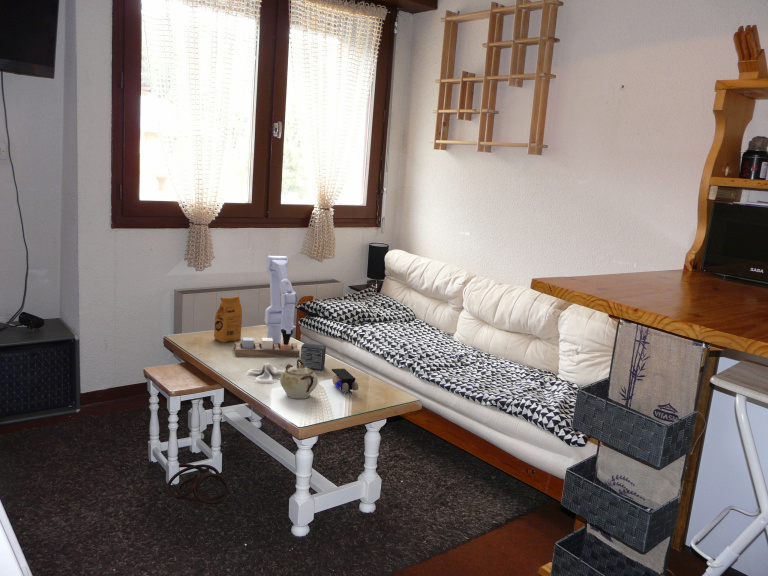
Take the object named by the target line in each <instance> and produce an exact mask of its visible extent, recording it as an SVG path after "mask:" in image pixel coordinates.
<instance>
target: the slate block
mask: <svg viewBox="0 0 768 576" xmlns="http://www.w3.org/2000/svg"><path fill="white" fill-rule="evenodd" d="M254 343H255V339H254V337H248V336H247V337H244V336H243V337H242V347H243V348H250V349H253V347H254Z"/></svg>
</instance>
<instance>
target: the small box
mask: <svg viewBox="0 0 768 576" xmlns="http://www.w3.org/2000/svg"><path fill="white" fill-rule="evenodd" d="M300 349H301V350H300V360H301V362H302V363H303V366H304V367H307V368H309V369H311V370H313V371H321V372H322V371H323V370H324V368H325V365H326V353H327V352H326V350H327V345H323V344H314V343H306V342H304V343H303V344H302V345H301V348H300ZM299 366H301V364H300V363H299Z"/></svg>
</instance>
